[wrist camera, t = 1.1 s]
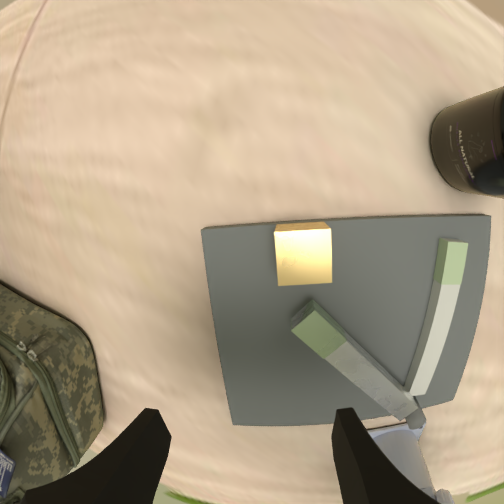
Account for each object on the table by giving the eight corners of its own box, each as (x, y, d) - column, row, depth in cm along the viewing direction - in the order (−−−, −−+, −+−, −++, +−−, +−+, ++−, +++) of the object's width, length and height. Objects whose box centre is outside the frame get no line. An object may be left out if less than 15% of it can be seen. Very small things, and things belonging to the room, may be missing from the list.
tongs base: (448, 393, 21) (465, 421, 16) (235, 416, 24) (226, 451, 19) (482, 213, 17) (517, 222, 12) (205, 227, 20) (182, 239, 15)
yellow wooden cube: (325, 267, 18) (332, 282, 15) (279, 270, 19) (278, 285, 16) (323, 221, 17) (330, 228, 15) (276, 224, 18) (274, 232, 15)
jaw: (412, 395, 18) (418, 407, 17) (394, 408, 19) (399, 421, 17) (312, 299, 17) (314, 310, 16) (291, 318, 18) (290, 330, 16)
